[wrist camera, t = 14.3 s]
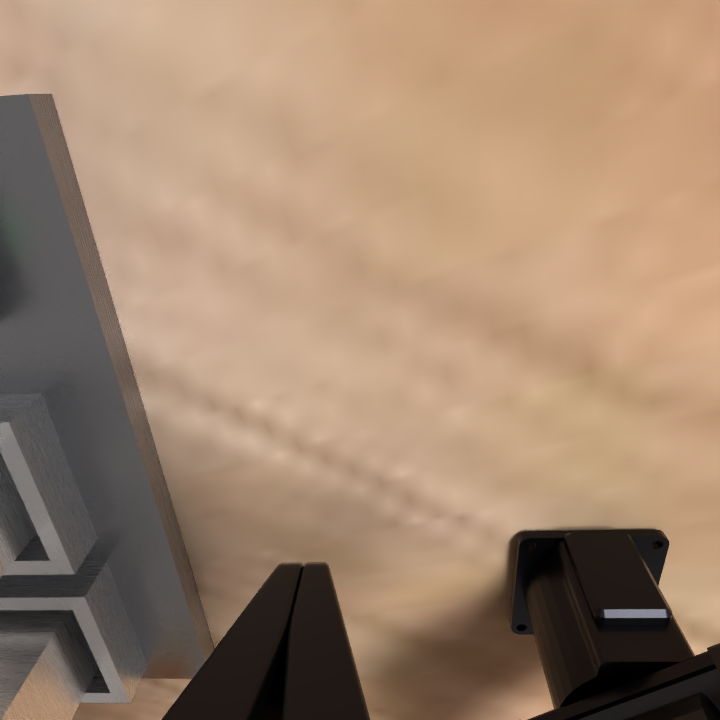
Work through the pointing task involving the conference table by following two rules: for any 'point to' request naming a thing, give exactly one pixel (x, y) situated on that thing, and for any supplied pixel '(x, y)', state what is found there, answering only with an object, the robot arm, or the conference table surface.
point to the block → (42, 664)
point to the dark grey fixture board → (82, 431)
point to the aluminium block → (12, 520)
